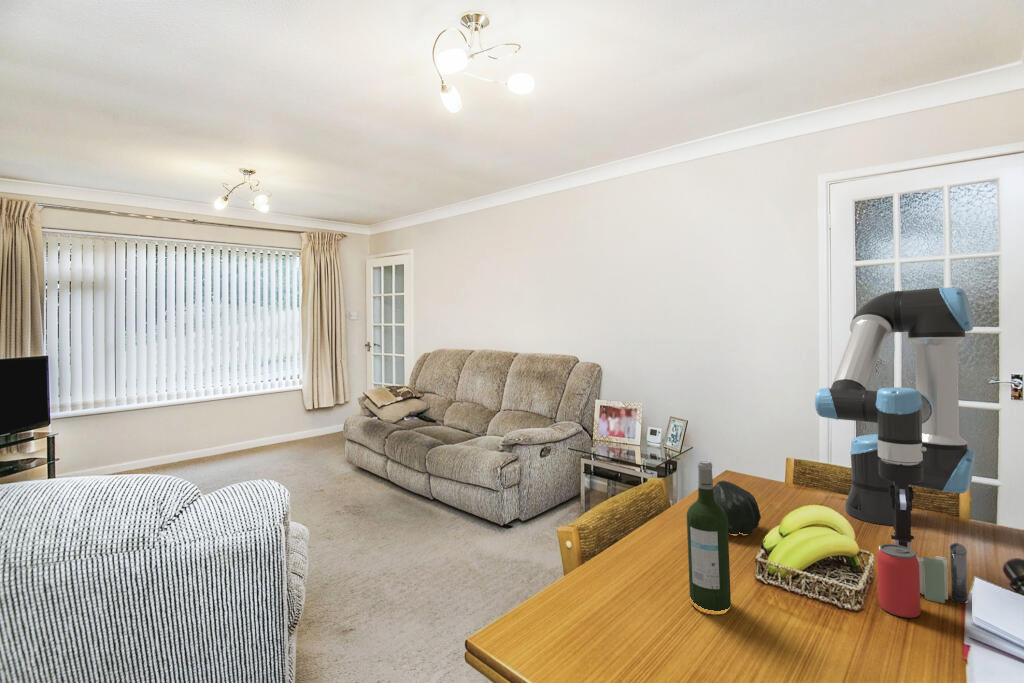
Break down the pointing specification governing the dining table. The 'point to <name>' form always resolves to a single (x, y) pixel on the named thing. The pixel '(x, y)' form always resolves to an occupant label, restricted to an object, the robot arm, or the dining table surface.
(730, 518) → the squash
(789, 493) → the dining table surface
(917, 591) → the beer can
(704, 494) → the wine bottle
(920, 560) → the gate
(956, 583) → the hinge post
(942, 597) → the block
